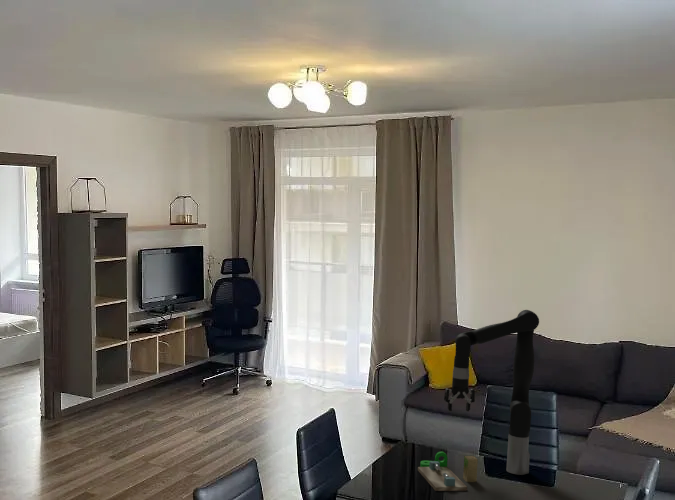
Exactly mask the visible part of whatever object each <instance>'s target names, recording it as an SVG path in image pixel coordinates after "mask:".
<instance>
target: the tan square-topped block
mask: <svg viewBox="0 0 675 500" xmlns="http://www.w3.org/2000/svg"><path fill="white" fill-rule="evenodd" d="M478 460H479V459H478V458H477V457H475V456H474V455H465V456H464V459H463V470H462V471H463V475H462V479H463V480H464V481H465V482H466V483H477V480H478V479H477V478H478V463H479V461H478Z"/></svg>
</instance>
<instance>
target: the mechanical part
mask: <svg viewBox="0 0 675 500" xmlns="http://www.w3.org/2000/svg"><path fill="white" fill-rule="evenodd" d="M441 457H443V459H442V460H440V459H439V458H441ZM430 461H431V460H421V461H420V463H419V467H429V463H430ZM434 461H438V462H439V463H440V467H448V455H447V453H445V452H444V451H443V450H442V451H438V452H437V453H436V454H435V457H434Z"/></svg>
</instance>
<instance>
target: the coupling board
mask: <svg viewBox="0 0 675 500" xmlns="http://www.w3.org/2000/svg"><path fill="white" fill-rule="evenodd" d="M429 461H430V463H429V467H420V466H418V467H417V471H418V472H419V473H420V475H421V476H422V477H423V478H424V480H425V481H426V482H427V483H428V484H429V485H430V486H431V488H432V489H433V490H434V491H435V492H446V491H447V492H451V491H453V492H454V491H455V492H456V491H457V492H458V491H461V492H464V491H467V490H468V486H467V485H465V483H464V482H463V481H462V480H461V479H460V478H459V477H458V476H457V475H456V474H455V473H454V472H453V471H452V470H451V469H450V468H449V467H448V466H447V467H440V463H439V462H438V461H435V460H429Z"/></svg>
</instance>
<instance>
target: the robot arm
mask: <svg viewBox="0 0 675 500" xmlns="http://www.w3.org/2000/svg"><path fill="white" fill-rule="evenodd" d="M539 325H540V319H539V316H538V315H537V313H535V312H534V311H532V310H529V309H522V310H520V311H519V313H518V314H517V315H516V317H515V318H513V319H510V320H506V321H503V322H498V323H492V324H488V325H486V326H482V327H479V328H477V329H475V330H469V331H465V332H461V333H459V334H457V335H456V336H455V339H454V344H455V355H454V357H453V358H454V359H453V369H452V379H451V381H452V383H451V388H445V389H444V397H443V401H444V402H446V403H447V410H448V411H449V412H452V411H453V410H452V409H453V402H454V401H455V400H456V399H458V400H459V399H461V400H463V399H464V400H465V401H466V403H465V411H466V412H469V411H470V410H471V404H472V403H475V401H476V400H475V399H476V397H475V395H476V393H475V392H476V390H475V389H473V388H470V389H469V386H470V385H469V383H470V382H469V381H470V380H469V379H470V356H471V355H470V354H471V348H472V347H471V346H474V345H478V344H479V345H480V344H486V343H487V342H491V341H494V340H497V339H501V338H503V337H505V336H510V335H513V334H516V342H515V349H514V354H513V355H514V357H513V364H512V365H513V368H512V385H513V386H512V394H511V399H510V403H509V412H510V417H509V426H508V437H507V440H508V441H507V453H506V454H507V455H506V466H505V467H506V472H507V473H510V474H513V475H518V476H520V475H521V476H523V475H527V474H529V472H530V456H531V455H530V452H529V443H530V442H529V440H530V432H531V425H532V423H531V422H532V409H531V407H530V403H529V402H530V401H529V400H530V398H529V397H530V387H531V384H532V380H533V377H534V371H535V370H534V369H535V349H534V343H533V342H534V333H535V332H534V331H535V330H536V329H537V328H538V326H539ZM450 394H451V395H450ZM468 394H470V395H469V396H470V397H468Z"/></svg>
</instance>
